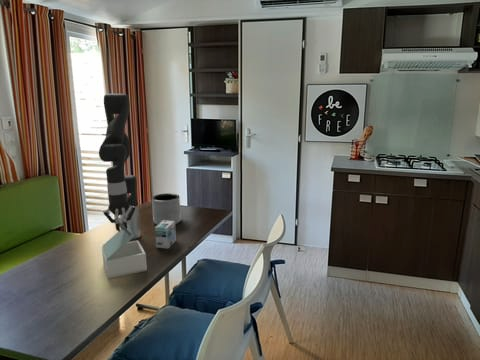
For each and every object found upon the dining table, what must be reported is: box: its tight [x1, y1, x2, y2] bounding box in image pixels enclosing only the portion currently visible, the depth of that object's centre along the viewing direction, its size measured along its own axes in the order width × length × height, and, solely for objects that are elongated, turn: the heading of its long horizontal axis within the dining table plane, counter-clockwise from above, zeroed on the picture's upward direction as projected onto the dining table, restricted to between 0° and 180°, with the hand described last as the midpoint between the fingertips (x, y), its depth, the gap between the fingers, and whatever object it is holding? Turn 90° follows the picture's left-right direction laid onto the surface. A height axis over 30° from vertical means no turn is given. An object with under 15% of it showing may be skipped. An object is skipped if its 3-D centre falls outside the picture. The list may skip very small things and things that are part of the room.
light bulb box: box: [154, 220, 177, 249], centre depth 182 cm, size 11×7×11 cm, turn 168°
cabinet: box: [101, 240, 148, 280], centre depth 159 cm, size 16×16×8 cm
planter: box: [151, 192, 182, 226], centre depth 213 cm, size 16×16×16 cm
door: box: [102, 217, 134, 260], centre depth 155 cm, size 15×14×6 cm
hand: (121, 230), depth 156 cm, fingers closed on door, 2 cm apart
